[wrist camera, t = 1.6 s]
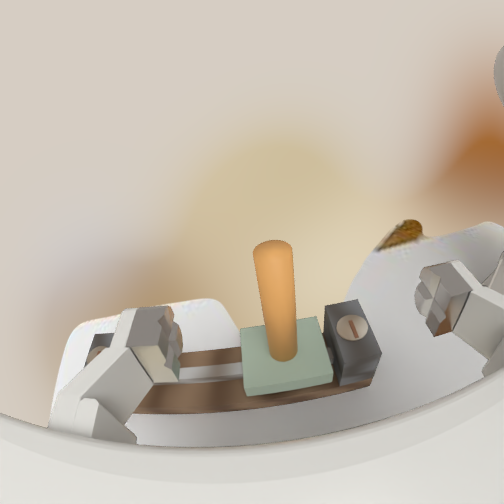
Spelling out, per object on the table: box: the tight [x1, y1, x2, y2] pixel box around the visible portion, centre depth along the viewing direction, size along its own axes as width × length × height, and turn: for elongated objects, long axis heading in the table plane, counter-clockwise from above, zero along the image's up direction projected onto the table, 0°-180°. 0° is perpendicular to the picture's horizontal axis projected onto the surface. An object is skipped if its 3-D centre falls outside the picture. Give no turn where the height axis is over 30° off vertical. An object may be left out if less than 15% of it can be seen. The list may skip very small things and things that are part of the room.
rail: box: [84, 299, 382, 414], centre depth 31 cm, size 33×8×8 cm, turn 95°
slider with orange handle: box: [240, 240, 333, 396], centre depth 26 cm, size 9×8×15 cm
